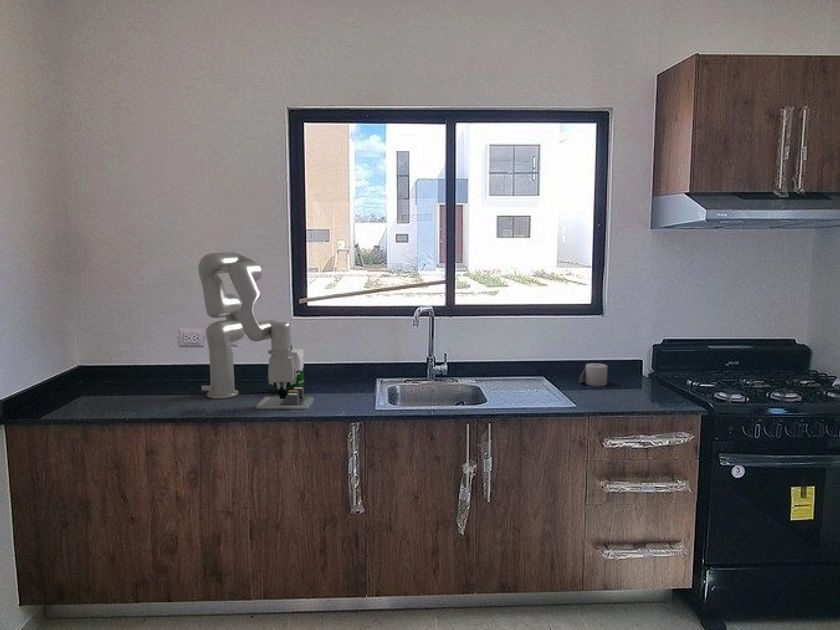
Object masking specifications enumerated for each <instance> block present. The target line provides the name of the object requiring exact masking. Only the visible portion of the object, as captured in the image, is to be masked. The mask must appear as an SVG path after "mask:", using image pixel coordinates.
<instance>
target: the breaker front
mask: <svg viewBox="0 0 840 630" xmlns="http://www.w3.org/2000/svg"><path fill="white" fill-rule="evenodd" d="M286 397H287V405H298V403H299V396H298V394H297V393H289V394H287V396H286Z"/></svg>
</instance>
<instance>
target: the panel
mask: <svg viewBox="0 0 840 630" xmlns="http://www.w3.org/2000/svg"><path fill="white" fill-rule="evenodd" d="M314 401H315V398H314V396H313V397H312V396H304V397H303V398H299V403H298V405H287V396H286V398H285V399H280V397H279V396H265V397H264V398H263V399H261V401H260V402H258V404H256V409H257V410H258V409H260V410H262V409H267V410H268V409H270V410H271V409H273V410H274V409H275V410H276V409H279V410H280V409H286V410H287V409H289V410H290V409H293V410H294V409H295V410H297V409H301V410H304V409H305V410H306V409H309V407H310V406H311V404H313V402H314Z"/></svg>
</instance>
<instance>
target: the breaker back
mask: <svg viewBox="0 0 840 630" xmlns="http://www.w3.org/2000/svg"><path fill="white" fill-rule="evenodd" d="M304 388H305V387H304ZM304 388H303V387H295V388H293V390H297V391H299V398H303V397H305V390H304Z"/></svg>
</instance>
